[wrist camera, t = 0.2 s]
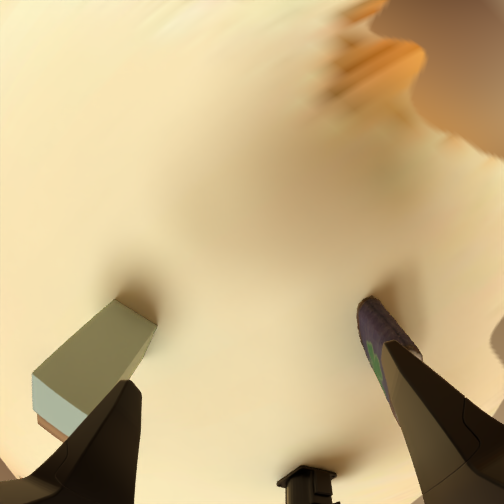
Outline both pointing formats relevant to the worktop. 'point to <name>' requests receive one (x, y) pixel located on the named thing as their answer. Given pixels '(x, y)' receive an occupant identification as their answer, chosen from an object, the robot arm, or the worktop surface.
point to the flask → (380, 337)
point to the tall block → (90, 366)
